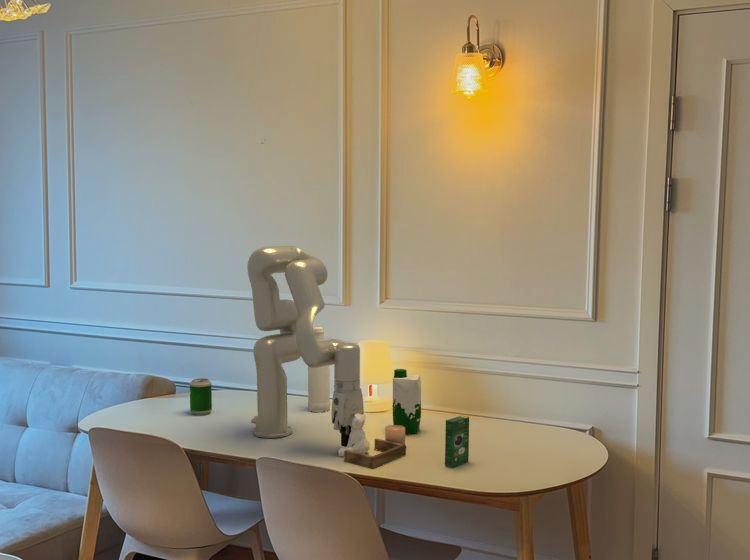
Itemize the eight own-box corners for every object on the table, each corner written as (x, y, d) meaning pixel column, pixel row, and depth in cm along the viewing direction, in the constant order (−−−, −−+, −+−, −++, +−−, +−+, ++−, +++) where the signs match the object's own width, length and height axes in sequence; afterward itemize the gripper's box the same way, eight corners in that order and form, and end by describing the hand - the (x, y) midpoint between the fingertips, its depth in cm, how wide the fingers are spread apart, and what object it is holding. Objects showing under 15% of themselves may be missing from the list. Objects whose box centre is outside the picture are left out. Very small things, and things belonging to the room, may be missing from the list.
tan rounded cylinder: (381, 447, 224) (381, 428, 224) (392, 443, 229) (393, 423, 229) (397, 451, 221) (397, 431, 220) (408, 446, 225) (409, 427, 225)
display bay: (344, 461, 212) (344, 450, 211) (377, 448, 224) (377, 438, 223) (373, 468, 205) (373, 458, 205) (405, 455, 217) (405, 444, 217)
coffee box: (461, 459, 213) (461, 414, 212) (469, 461, 211) (470, 416, 210) (444, 466, 207) (444, 419, 206) (452, 468, 205) (452, 421, 204)
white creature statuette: (345, 447, 225) (345, 408, 224) (373, 449, 223) (373, 409, 222) (337, 456, 215) (337, 416, 214) (366, 459, 214) (366, 417, 213)
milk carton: (395, 426, 247) (395, 367, 245) (422, 428, 245) (422, 368, 244) (390, 434, 238) (390, 372, 237) (418, 435, 237) (419, 373, 235)
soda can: (216, 412, 266) (215, 379, 265) (201, 417, 259) (200, 383, 258) (201, 409, 270) (200, 377, 269) (185, 414, 263) (185, 380, 263)
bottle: (304, 408, 271) (304, 326, 269) (325, 406, 274) (324, 325, 272) (312, 413, 264) (311, 329, 262) (333, 411, 267) (332, 328, 265)
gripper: (340, 391, 211) (340, 455, 213) (372, 382, 223) (372, 442, 224) (320, 387, 216) (320, 449, 217) (353, 379, 227) (353, 438, 229)
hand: (346, 446), depth 221 cm, fingers closed
